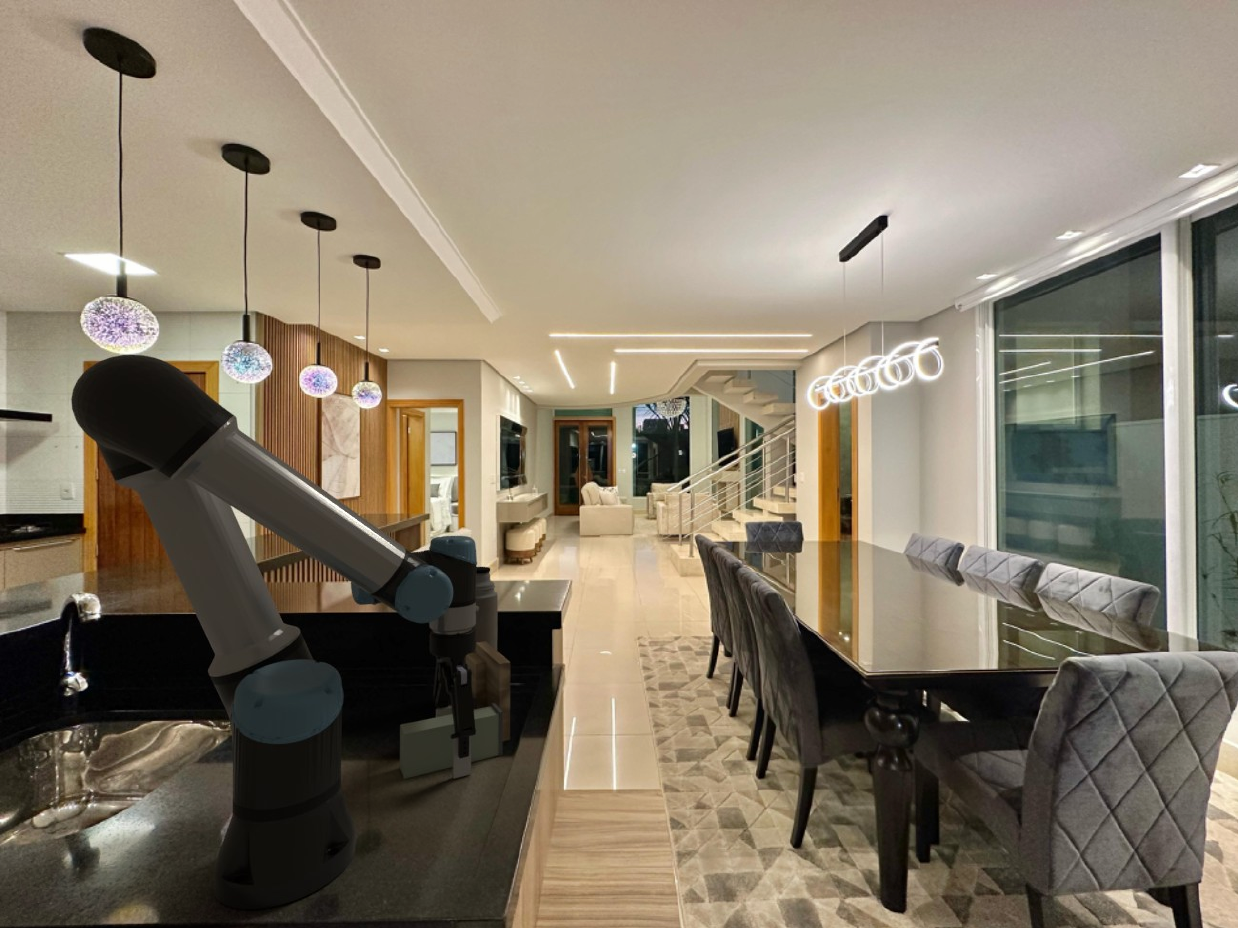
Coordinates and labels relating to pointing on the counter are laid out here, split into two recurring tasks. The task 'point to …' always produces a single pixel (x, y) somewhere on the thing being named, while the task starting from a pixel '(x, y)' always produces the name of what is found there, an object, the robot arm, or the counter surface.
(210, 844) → the counter surface
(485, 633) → the thermos bottle
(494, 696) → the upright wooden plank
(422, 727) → the rectangular block
